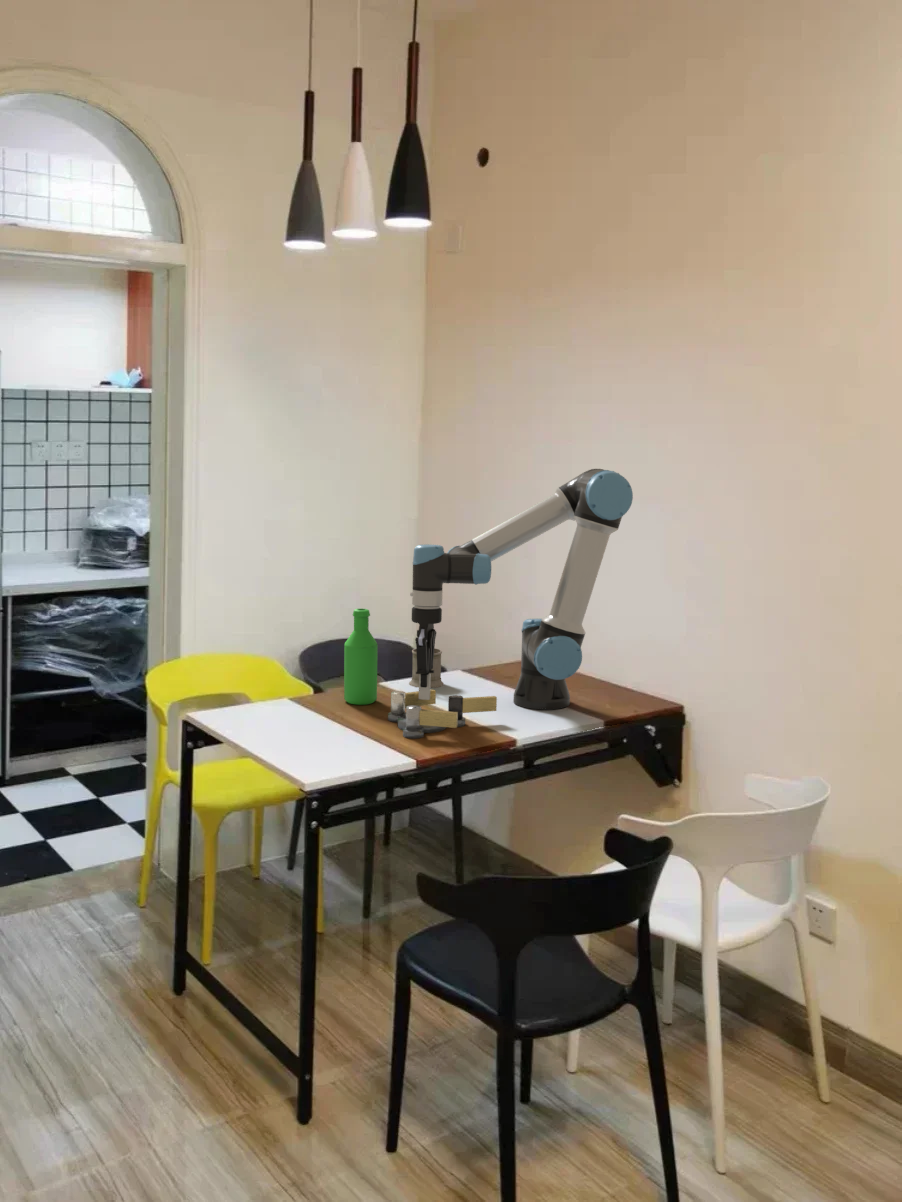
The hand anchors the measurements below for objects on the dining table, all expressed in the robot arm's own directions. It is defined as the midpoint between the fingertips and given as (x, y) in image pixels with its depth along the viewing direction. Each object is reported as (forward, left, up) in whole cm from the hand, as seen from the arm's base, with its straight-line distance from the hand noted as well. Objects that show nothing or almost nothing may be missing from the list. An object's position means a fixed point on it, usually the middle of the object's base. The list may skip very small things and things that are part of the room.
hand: (424, 698), depth 286 cm
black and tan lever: (-13, +1, -4) cm, 13 cm away
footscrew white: (+3, 0, -4) cm, 5 cm away
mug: (+8, -34, -5) cm, 36 cm away
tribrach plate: (-1, +9, -5) cm, 11 cm away
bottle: (+20, -11, -5) cm, 24 cm away
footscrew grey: (-6, +16, -4) cm, 17 cm away
